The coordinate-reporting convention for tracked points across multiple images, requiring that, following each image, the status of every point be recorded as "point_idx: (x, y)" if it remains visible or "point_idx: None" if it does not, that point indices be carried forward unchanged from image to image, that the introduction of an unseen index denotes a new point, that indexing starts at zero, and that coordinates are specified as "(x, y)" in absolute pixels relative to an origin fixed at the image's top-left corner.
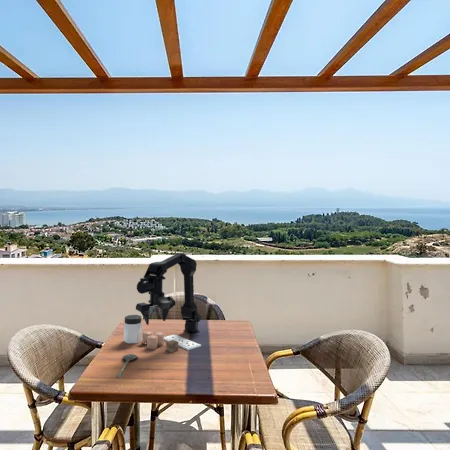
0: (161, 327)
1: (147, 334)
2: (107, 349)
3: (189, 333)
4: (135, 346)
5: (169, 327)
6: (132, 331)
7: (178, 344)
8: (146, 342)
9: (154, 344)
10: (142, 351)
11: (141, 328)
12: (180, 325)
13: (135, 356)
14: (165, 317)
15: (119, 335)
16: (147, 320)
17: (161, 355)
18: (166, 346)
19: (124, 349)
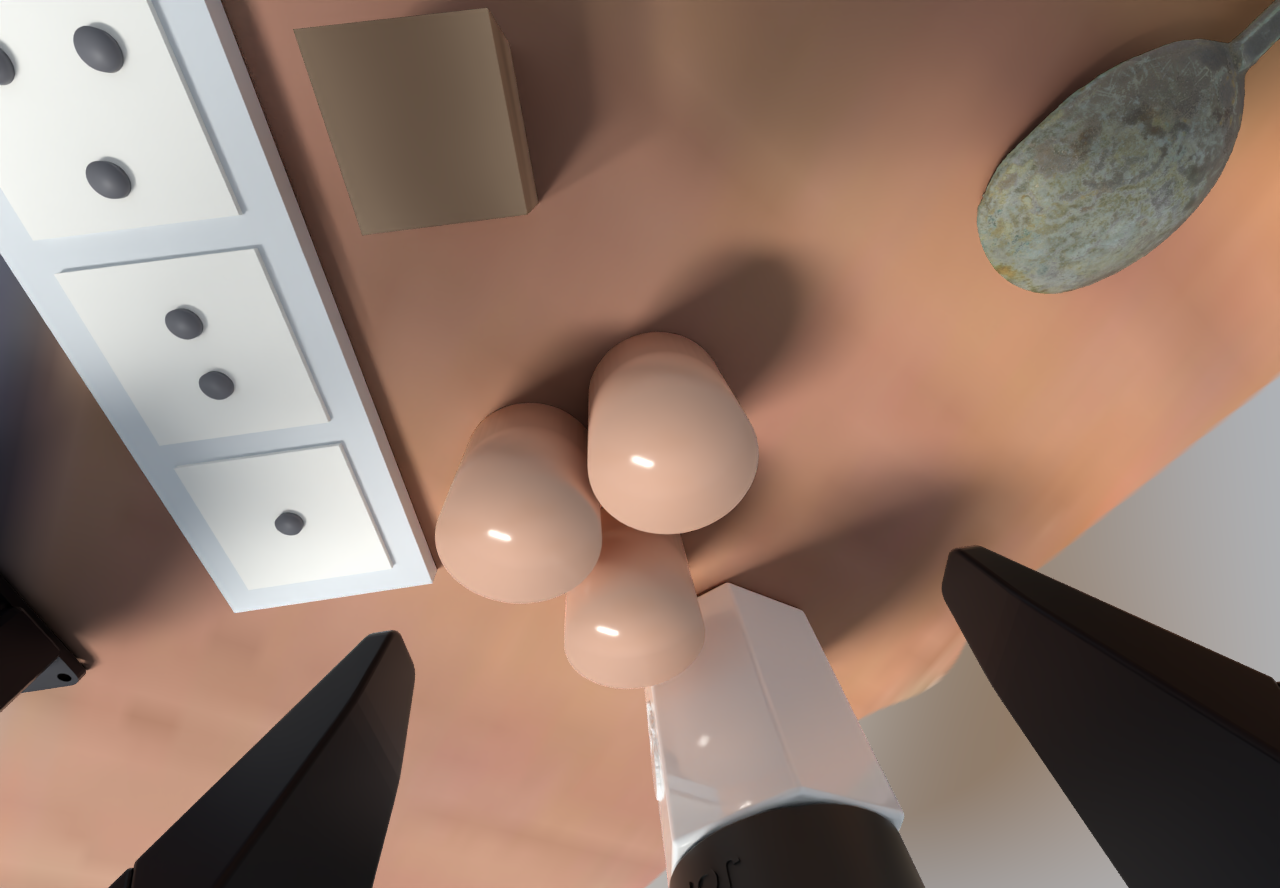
0: None
1: (671, 589)
2: None
3: (3, 581)
4: (786, 514)
5: None
6: (813, 706)
7: (288, 238)
8: None
9: (669, 351)
10: (820, 337)
11: (677, 743)
12: (90, 813)
13: (1118, 92)
14: (311, 723)
15: None
16: (1141, 626)
17: (710, 9)
18: (532, 198)
19: (918, 493)
